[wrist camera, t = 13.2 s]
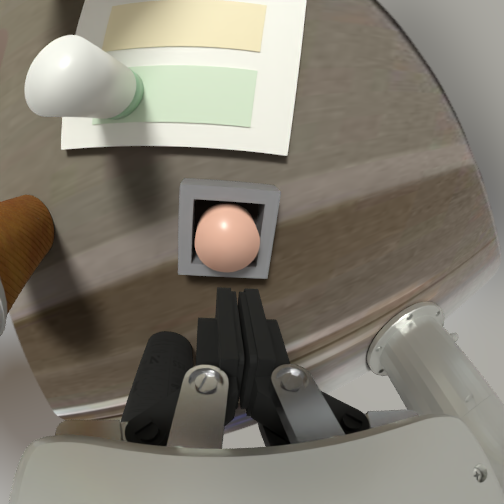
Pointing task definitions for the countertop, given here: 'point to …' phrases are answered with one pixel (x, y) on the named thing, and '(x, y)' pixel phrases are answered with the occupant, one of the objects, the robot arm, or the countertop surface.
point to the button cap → (226, 238)
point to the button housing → (231, 192)
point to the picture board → (198, 72)
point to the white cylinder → (81, 82)
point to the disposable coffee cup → (21, 246)
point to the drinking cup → (158, 372)
